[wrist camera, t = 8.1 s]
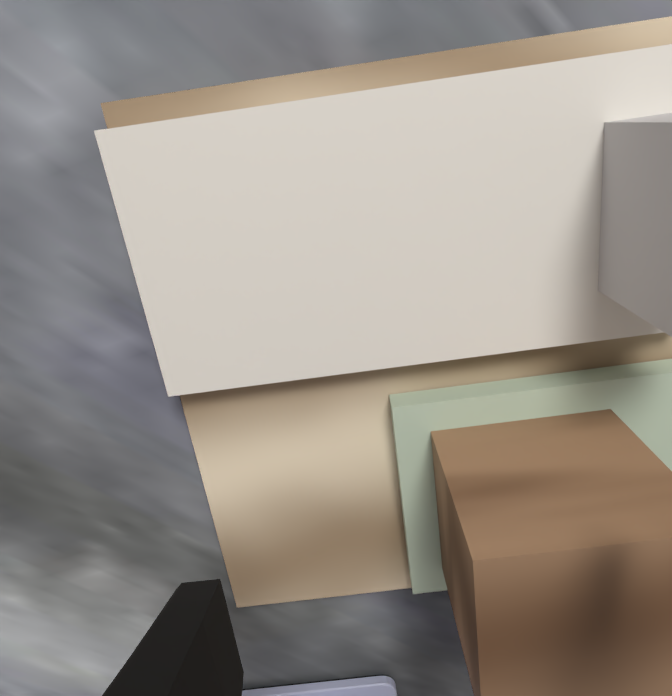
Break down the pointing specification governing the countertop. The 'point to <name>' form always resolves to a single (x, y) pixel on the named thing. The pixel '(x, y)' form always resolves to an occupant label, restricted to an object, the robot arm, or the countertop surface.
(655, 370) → the green strip
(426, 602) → the countertop surface
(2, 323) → the countertop surface
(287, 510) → the base
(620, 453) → the walnut block
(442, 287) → the white strip
